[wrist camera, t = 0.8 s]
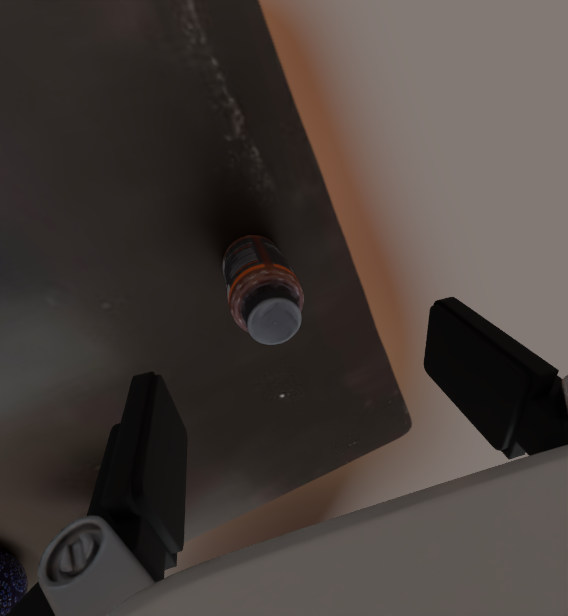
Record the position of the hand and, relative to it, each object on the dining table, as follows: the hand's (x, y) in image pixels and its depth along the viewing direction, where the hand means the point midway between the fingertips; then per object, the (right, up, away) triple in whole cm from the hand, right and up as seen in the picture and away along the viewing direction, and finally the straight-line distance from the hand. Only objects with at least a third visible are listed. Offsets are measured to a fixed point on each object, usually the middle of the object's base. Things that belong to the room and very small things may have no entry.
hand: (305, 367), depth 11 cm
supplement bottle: (-4, +7, +22) cm, 23 cm away
